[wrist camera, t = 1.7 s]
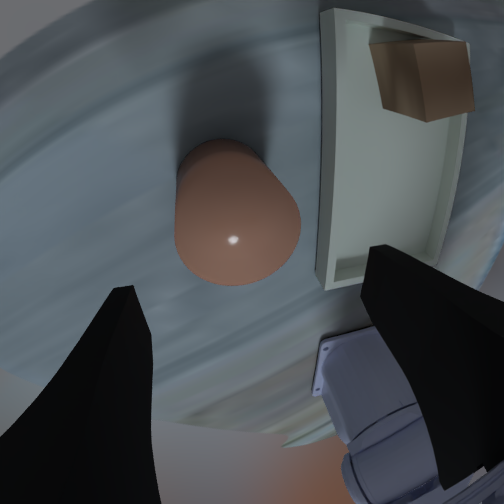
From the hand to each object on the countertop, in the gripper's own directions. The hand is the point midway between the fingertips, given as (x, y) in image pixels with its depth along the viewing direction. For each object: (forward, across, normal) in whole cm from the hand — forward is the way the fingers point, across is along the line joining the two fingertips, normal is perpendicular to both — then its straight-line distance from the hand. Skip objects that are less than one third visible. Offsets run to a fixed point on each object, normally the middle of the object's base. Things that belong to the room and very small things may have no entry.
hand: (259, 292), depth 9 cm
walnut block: (+9, -11, -6) cm, 16 cm away
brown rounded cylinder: (+10, 0, 0) cm, 10 cm away
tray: (+10, -11, -1) cm, 15 cm away
